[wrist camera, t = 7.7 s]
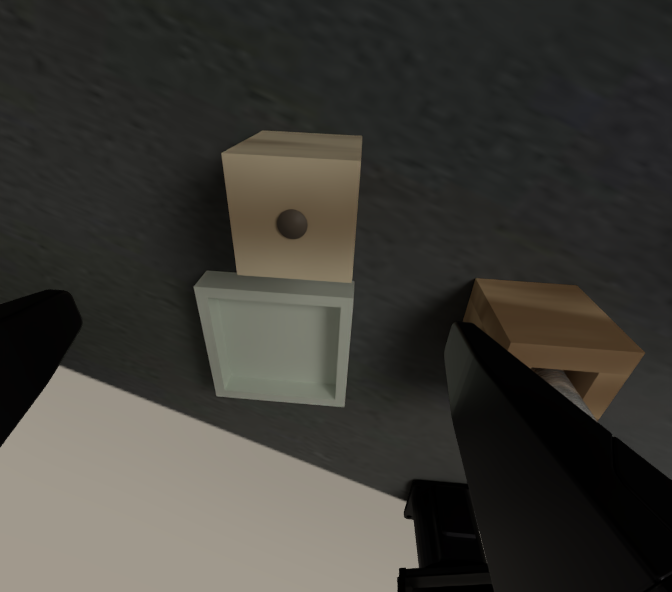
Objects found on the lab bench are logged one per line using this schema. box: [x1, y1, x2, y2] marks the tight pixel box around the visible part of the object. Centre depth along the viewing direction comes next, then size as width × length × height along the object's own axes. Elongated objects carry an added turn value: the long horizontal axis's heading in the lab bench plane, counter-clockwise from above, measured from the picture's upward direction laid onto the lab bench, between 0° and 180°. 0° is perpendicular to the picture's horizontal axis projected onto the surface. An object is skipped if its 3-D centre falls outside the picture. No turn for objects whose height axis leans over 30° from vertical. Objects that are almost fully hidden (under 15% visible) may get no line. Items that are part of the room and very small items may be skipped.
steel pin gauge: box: [531, 367, 597, 421], centre depth 18 cm, size 2×2×10 cm
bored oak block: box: [463, 278, 645, 421], centre depth 20 cm, size 6×6×6 cm
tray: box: [194, 271, 354, 407], centre depth 23 cm, size 9×9×2 cm
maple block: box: [221, 131, 362, 283], centre depth 16 cm, size 5×5×6 cm
